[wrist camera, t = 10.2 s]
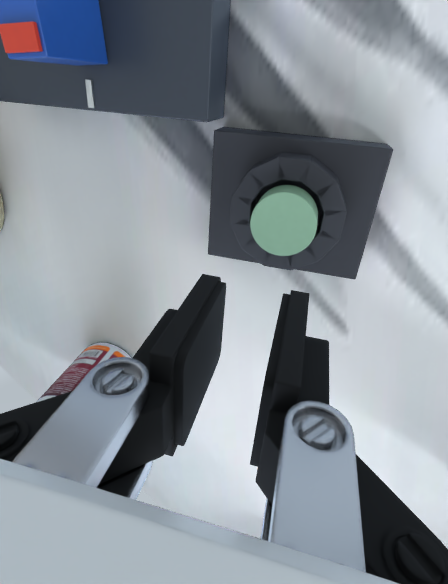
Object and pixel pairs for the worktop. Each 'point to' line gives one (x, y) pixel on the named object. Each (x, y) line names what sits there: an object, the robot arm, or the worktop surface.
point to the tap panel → (138, 64)
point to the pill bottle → (82, 368)
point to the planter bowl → (1, 213)
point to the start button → (284, 220)
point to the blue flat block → (53, 31)
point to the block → (307, 175)
